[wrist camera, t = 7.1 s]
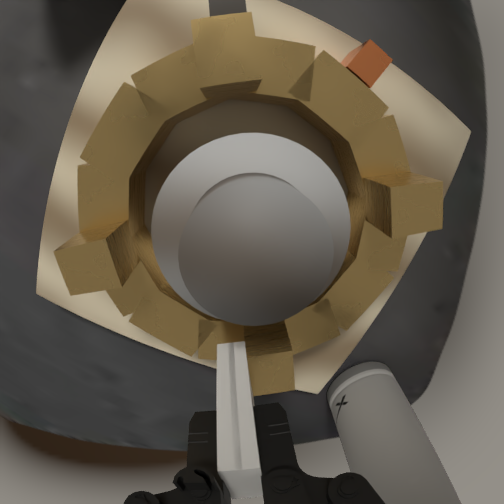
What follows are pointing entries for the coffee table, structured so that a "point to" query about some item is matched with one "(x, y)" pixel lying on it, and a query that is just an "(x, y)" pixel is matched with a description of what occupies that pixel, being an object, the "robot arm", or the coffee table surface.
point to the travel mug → (387, 438)
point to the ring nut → (256, 90)
